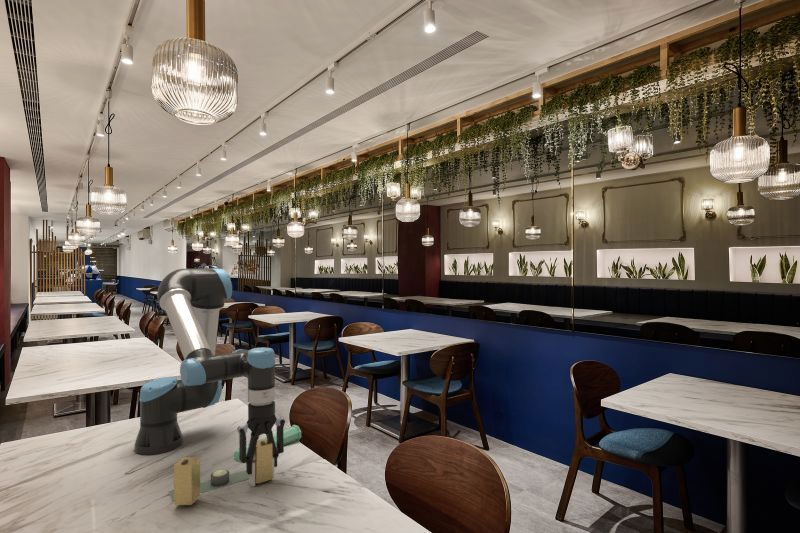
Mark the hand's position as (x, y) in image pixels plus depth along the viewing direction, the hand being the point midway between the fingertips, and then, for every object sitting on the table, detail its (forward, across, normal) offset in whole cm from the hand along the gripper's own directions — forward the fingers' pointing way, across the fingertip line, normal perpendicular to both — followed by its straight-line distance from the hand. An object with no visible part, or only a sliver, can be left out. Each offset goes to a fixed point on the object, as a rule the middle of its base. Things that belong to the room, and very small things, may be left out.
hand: (262, 481), depth 129 cm
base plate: (+1, -10, +4) cm, 11 cm away
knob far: (0, 0, 0) cm, 0 cm away
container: (+2, +10, +22) cm, 25 cm away
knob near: (0, -20, 0) cm, 20 cm away
